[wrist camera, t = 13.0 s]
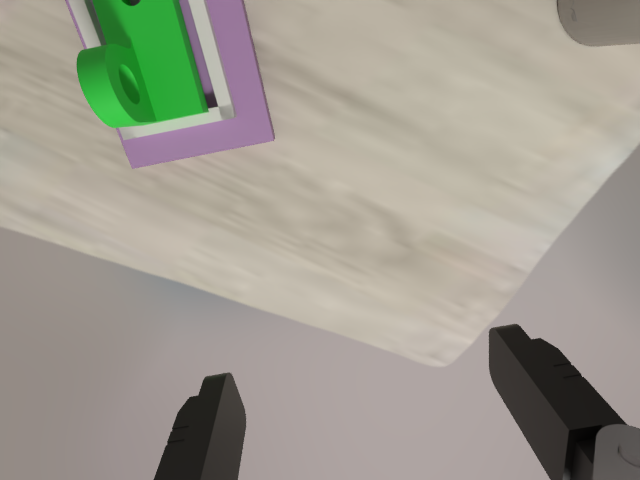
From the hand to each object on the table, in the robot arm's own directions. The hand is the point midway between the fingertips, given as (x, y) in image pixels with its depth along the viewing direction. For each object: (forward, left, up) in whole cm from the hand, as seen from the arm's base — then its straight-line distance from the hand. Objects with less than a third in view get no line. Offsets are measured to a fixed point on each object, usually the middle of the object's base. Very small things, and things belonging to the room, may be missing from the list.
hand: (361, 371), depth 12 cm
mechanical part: (+12, -13, -28) cm, 33 cm away
